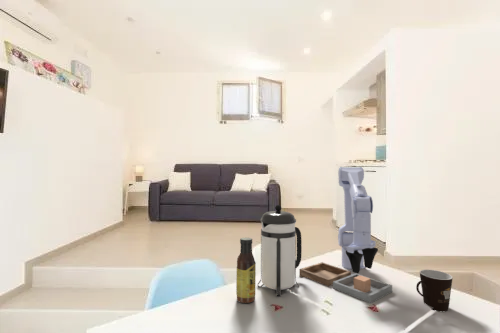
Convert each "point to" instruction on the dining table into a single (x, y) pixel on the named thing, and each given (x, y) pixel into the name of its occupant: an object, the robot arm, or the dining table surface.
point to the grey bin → (375, 293)
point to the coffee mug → (435, 289)
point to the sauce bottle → (245, 272)
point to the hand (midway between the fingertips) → (362, 270)
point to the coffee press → (279, 250)
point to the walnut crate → (324, 273)
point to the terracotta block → (362, 283)
